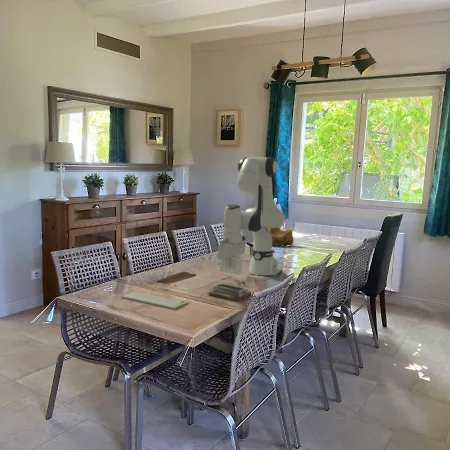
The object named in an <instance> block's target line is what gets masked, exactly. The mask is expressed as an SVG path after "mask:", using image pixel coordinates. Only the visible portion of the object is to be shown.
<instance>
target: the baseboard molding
mask: <svg viewBox="0 0 450 450" xmlns="http://www.w3.org/2000/svg"><path fill="white" fill-rule="evenodd" d="M121 298H122V299H126V300H131V301H135V302H139V303H144V304H148V305H152V306H157V307H163V308H167V309H171V310H175V311H176V310H178V309H179V308H182V307H184V306H187V305H188V304H190V302H191V301H190V300H188V302H187V301H184V300H183V301H182V300H177V299H172V298H168V297H162V296H159V295H158V296H157V295H152V294H148V293H142V292H139V291H132V292H129V293H126V294H123V295H121Z"/></svg>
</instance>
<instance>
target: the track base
mask: <svg viewBox="0 0 450 450" xmlns="http://www.w3.org/2000/svg"><path fill="white" fill-rule="evenodd" d="M251 295H252V291H251V290H250V291H249V288H247V287H242V286H237V285H232V284H227V283H223V282H219V283H217V284H214V285H213V286H212V290H211V291H209V292H208V296H211V297H215V298H219V299H224V300H229V301H233V302H238V301H240V300H243V299H245V298H247V297H249V296H251Z"/></svg>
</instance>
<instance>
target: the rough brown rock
mask: <svg viewBox="0 0 450 450" xmlns="http://www.w3.org/2000/svg"><path fill="white" fill-rule="evenodd" d="M267 232H268V234H270V235H271V237H272V245H274V246H279V245H283V246H287V245H291V246H292V245H293V244H294V237H293V230H292V229H290V228H289V229H286V230H282V229H281V227H279V228H268V227H267Z"/></svg>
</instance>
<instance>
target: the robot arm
mask: <svg viewBox="0 0 450 450" xmlns="http://www.w3.org/2000/svg"><path fill="white" fill-rule="evenodd" d="M277 169H278V163H277V161H276V159H275V158H274V157H272V156H267V157H266V156H251V157H243V158H241V159H240V160H238V162H237V170H238V176H237V180H236V181H237V187H238V189H239V190H240V191H241V192H242V193H244V194H246V195H249V196H251V197H252V198H253V199H254V207H251V208H249V207H248V208H247V209H245V210H242V207H241V206H240V205H238V204H229V205H226V206H225V208H224V212H223V230H222V240H220V241H221V242H219V245H218V247H217V254H216V255H217V256H216V257H217V259H218V260H219V261H220V260H225V262H226V267H230V266H231V263H230V261H229V260H230V258H232V257H235V256H238V257H240V256H242V255H244V254H245V249H246V240H247V238H246V237H247V236H246V235H243V234H242V231H248V232H251V233H252V238H253V239H252V240H253V244H252V245H253V246H252V247H253V249H252V252H251V253H252V254H251V257H250V260H249V268H247V272H249V274H253V275H255V276H256V275H257V276H276V275H278V274H279V273H281V272H282V268H280V267H279V266H278V260H277V259H276V258H275V257H274V254H275V249H273V246H272V237H271V235H270V234H269V232H268V231H267V230H266V228H267V229H268V228H281V227H282V226H283V225H284V223H285V219H286V217H285V214H284V213H283V211H282V210H280V208H279V207H278V206H277V205H276V203H275V200H274V195H273V194H274V193H273V180H272V179H273V178H272V176H274V175H275V174H276V172H277ZM277 273H278V274H277Z"/></svg>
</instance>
